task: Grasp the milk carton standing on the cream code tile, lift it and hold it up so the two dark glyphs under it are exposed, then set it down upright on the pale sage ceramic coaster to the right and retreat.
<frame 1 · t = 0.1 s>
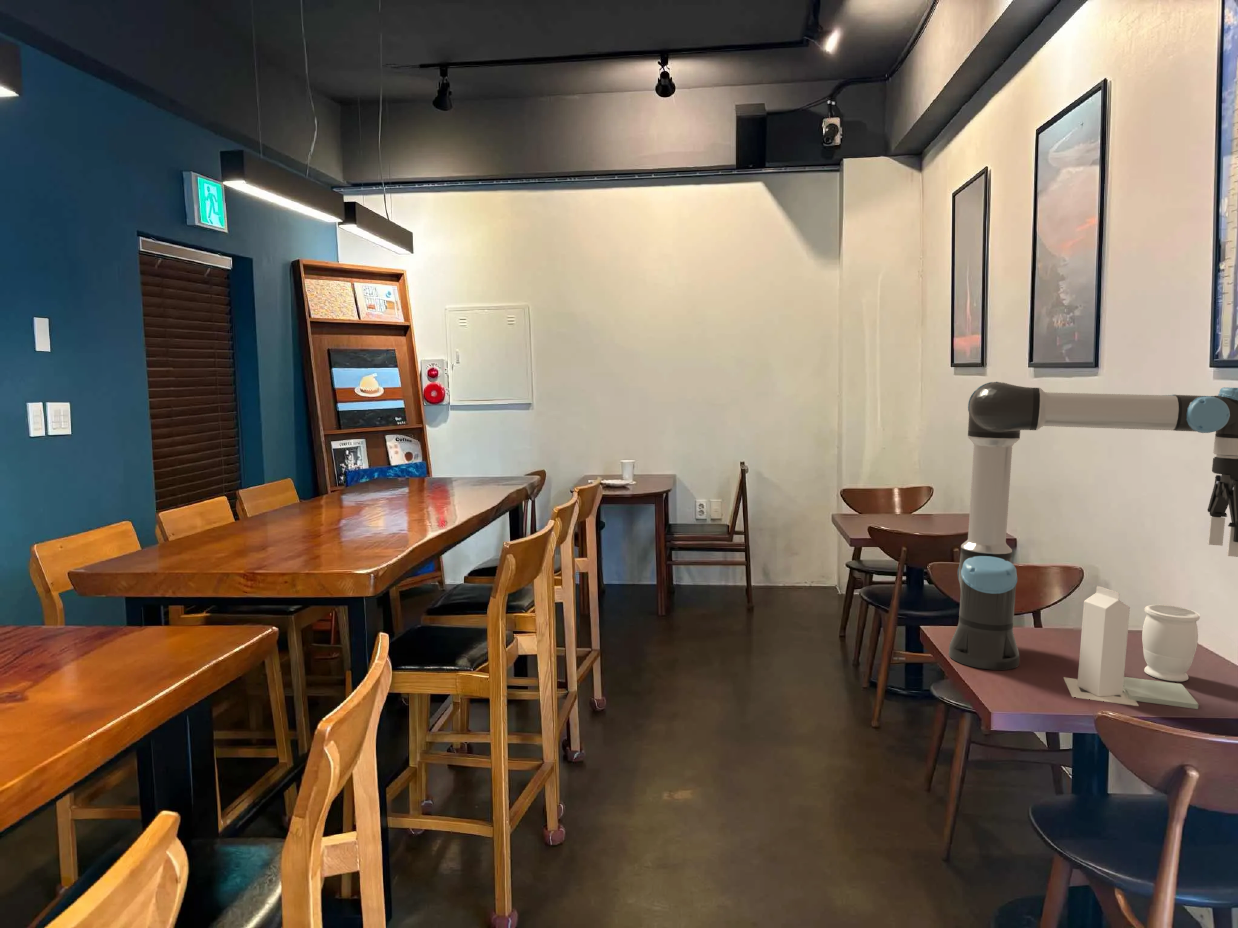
hand: (1224, 550, 187), 28 cm above the table, fingers open, 13 cm apart
jar: (1165, 676, 186), on the table
coaster: (1156, 693, 175), on the table
milk: (1099, 691, 176), resting on code tile
code tile: (1099, 691, 176), on the table
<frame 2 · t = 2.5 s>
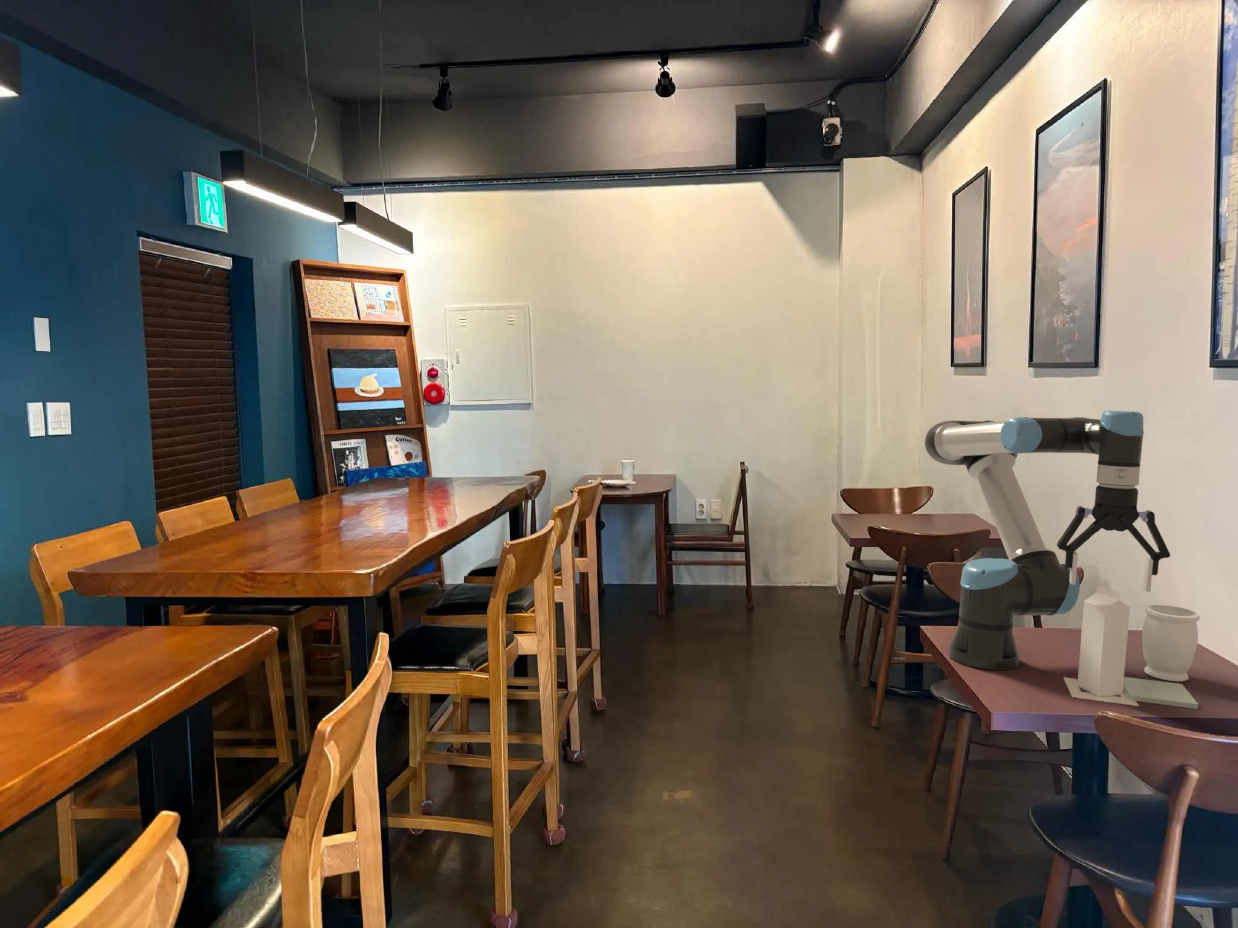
hand: (1109, 586, 173), 23 cm above the table, fingers open, 13 cm apart
nothing on the table moved.
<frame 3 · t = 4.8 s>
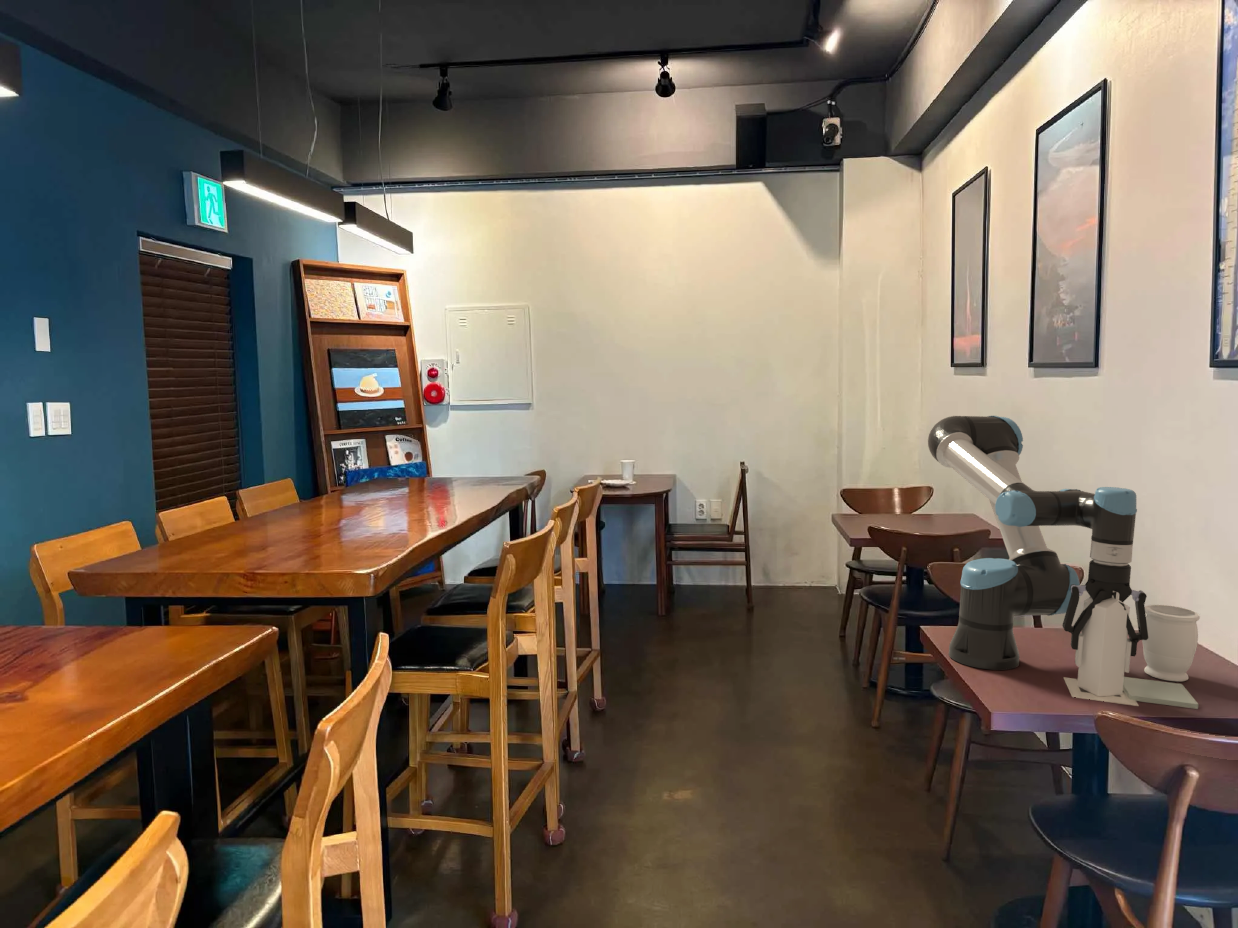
hand: (1101, 667, 175), 5 cm above the table, fingers closed on milk, 8 cm apart
milk: (1099, 691, 176), resting on code tile, touching gripper
everything else where it was.
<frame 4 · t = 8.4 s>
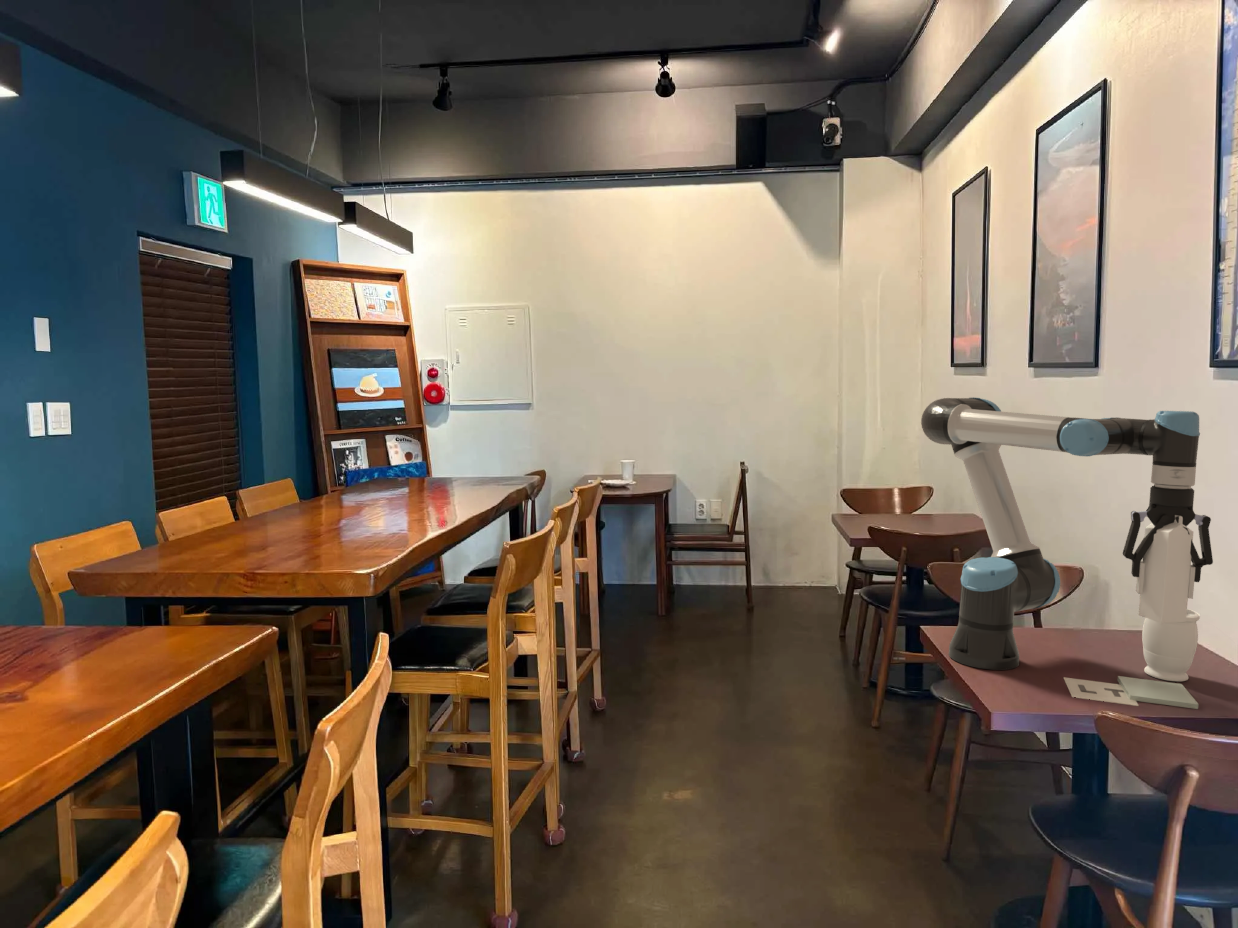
hand: (1163, 594, 172), 22 cm above the table, fingers closed on milk, 8 cm apart
milk: (1161, 619, 173), point 16 cm above the table, touching gripper
everything else where it was.
when the fingers open (8 cm above the table, at t = 11.8 s): milk drops 2 cm, resting on coaster.
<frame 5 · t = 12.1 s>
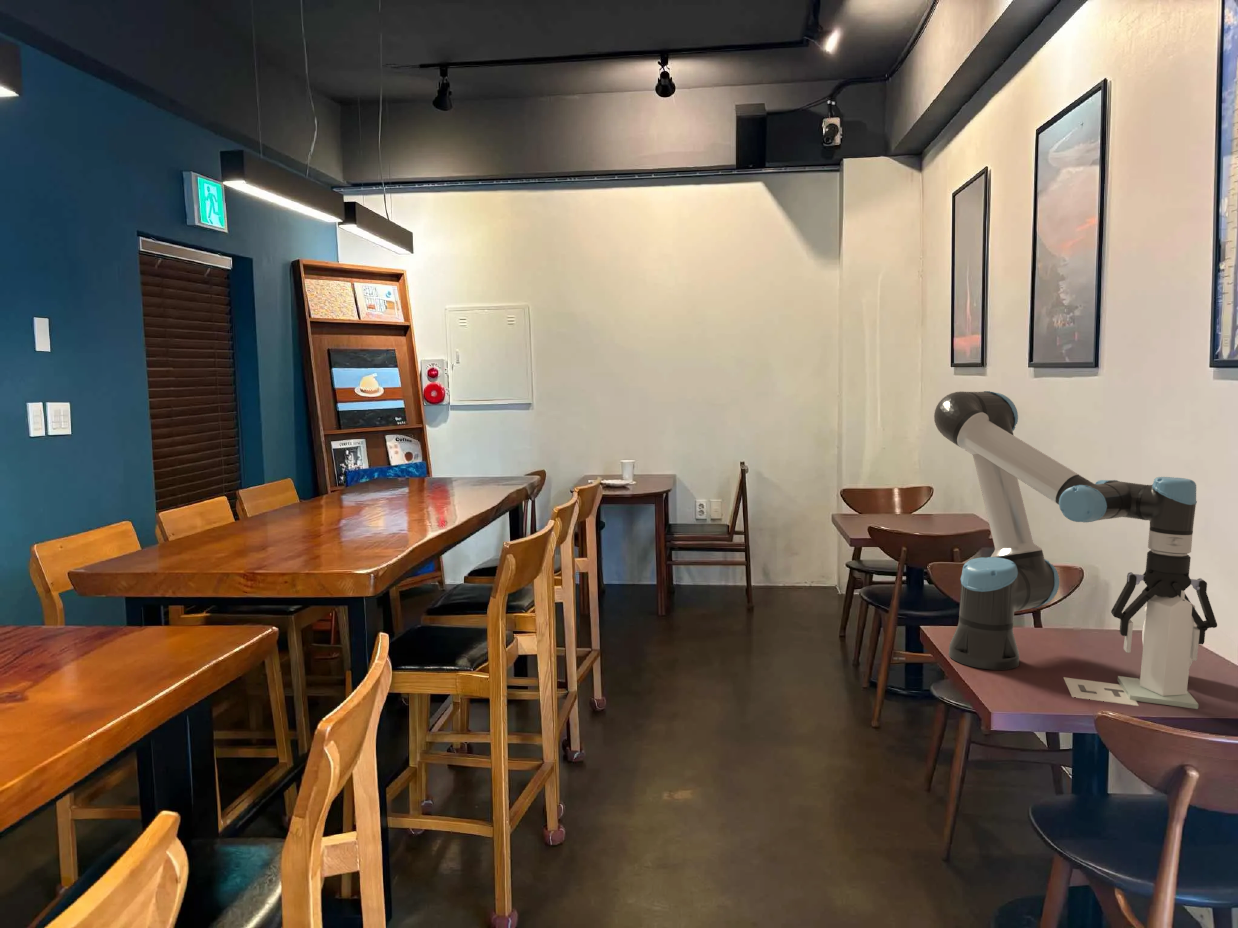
hand: (1159, 654, 174), 9 cm above the table, fingers open, 11 cm apart
milk: (1162, 690, 174), point 1 cm above the table, touching coaster
everything else where it was.
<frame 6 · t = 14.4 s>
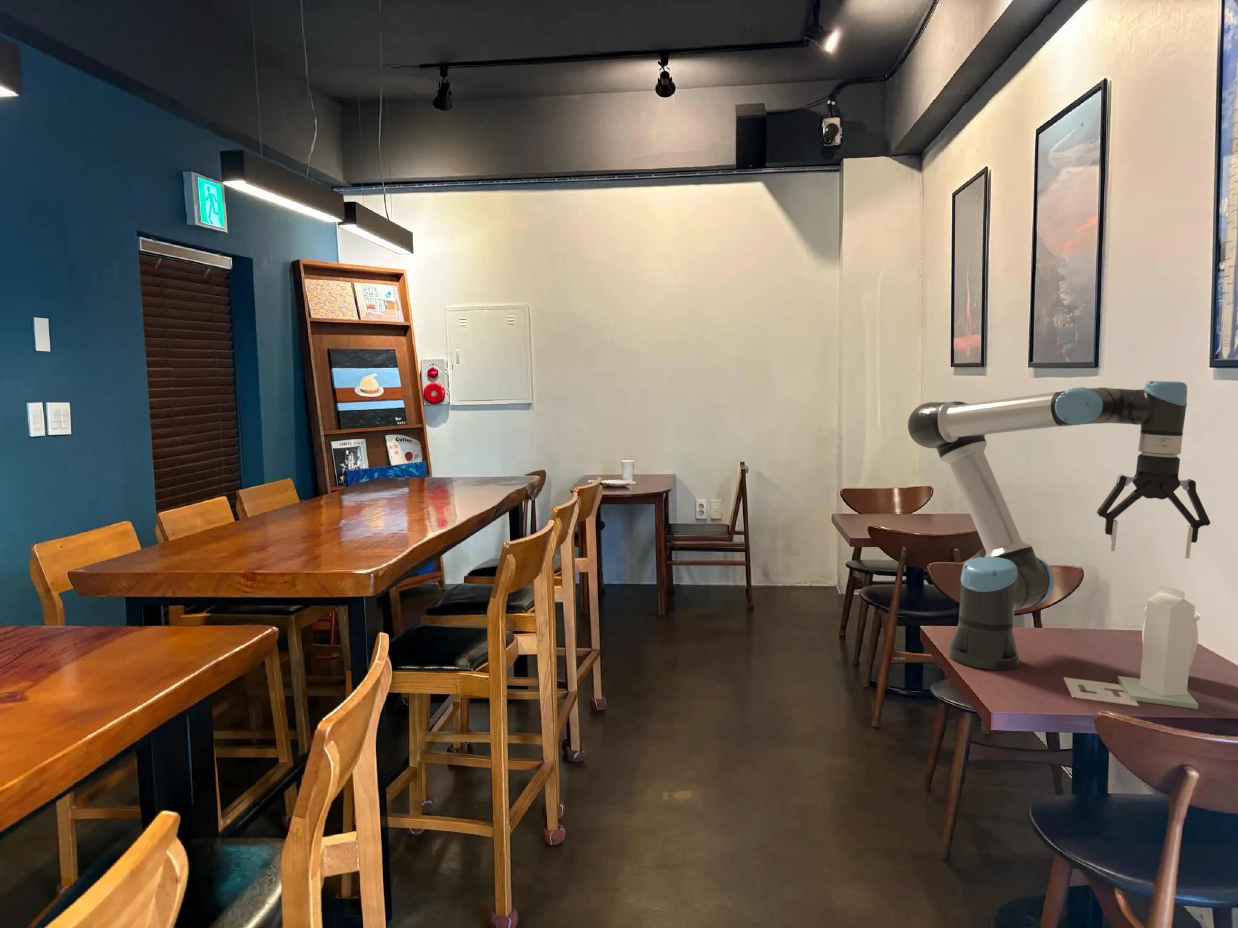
hand: (1148, 553, 177), 29 cm above the table, fingers open, 13 cm apart
nothing on the table moved.
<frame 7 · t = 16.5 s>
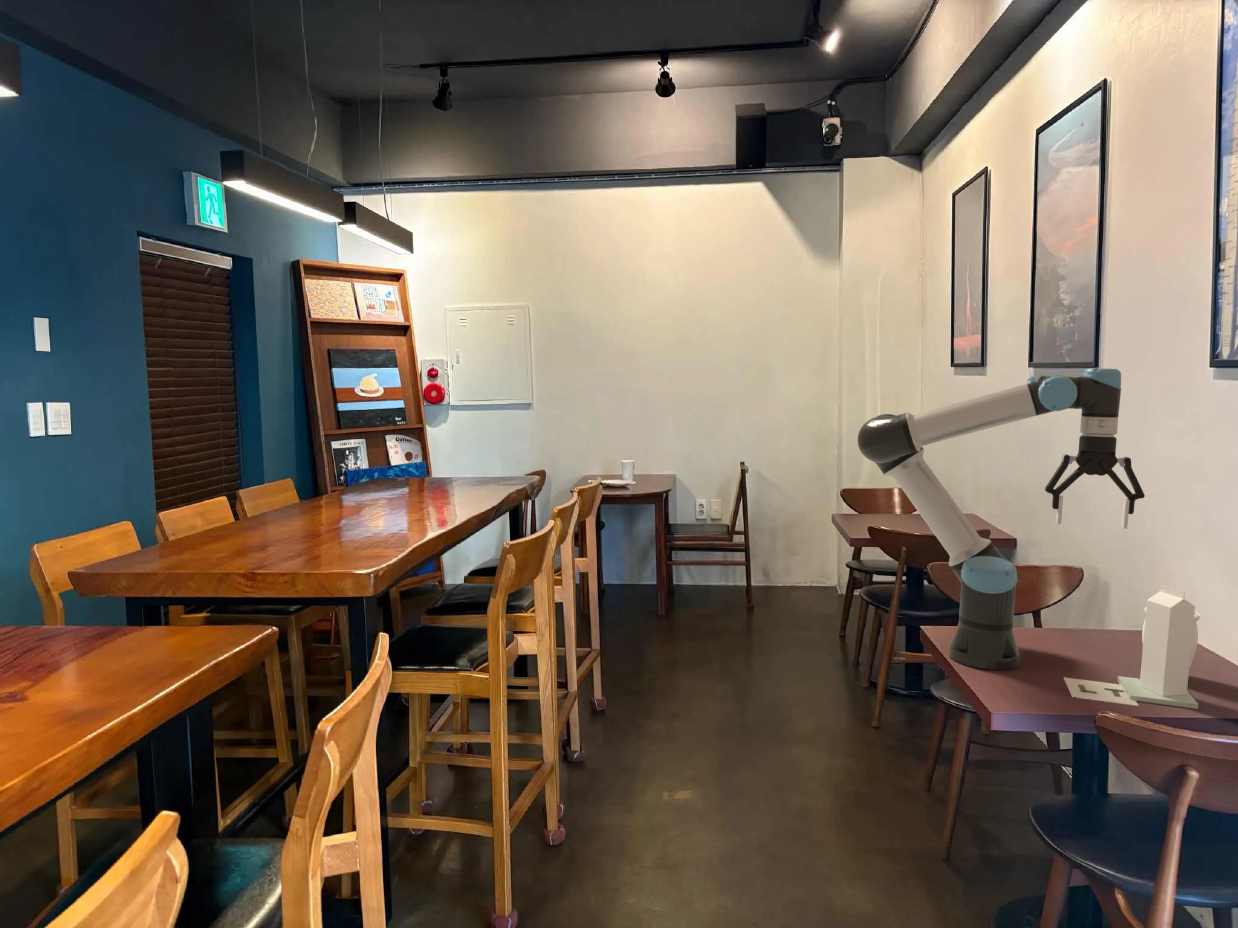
hand: (1090, 525, 195), 32 cm above the table, fingers open, 13 cm apart
nothing on the table moved.
at the end: milk inside the target area on the coaster (1.1 cm from its centre), point 0.8 cm above the coaster's base; milk tilted 0°; the gripper is holding nothing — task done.
